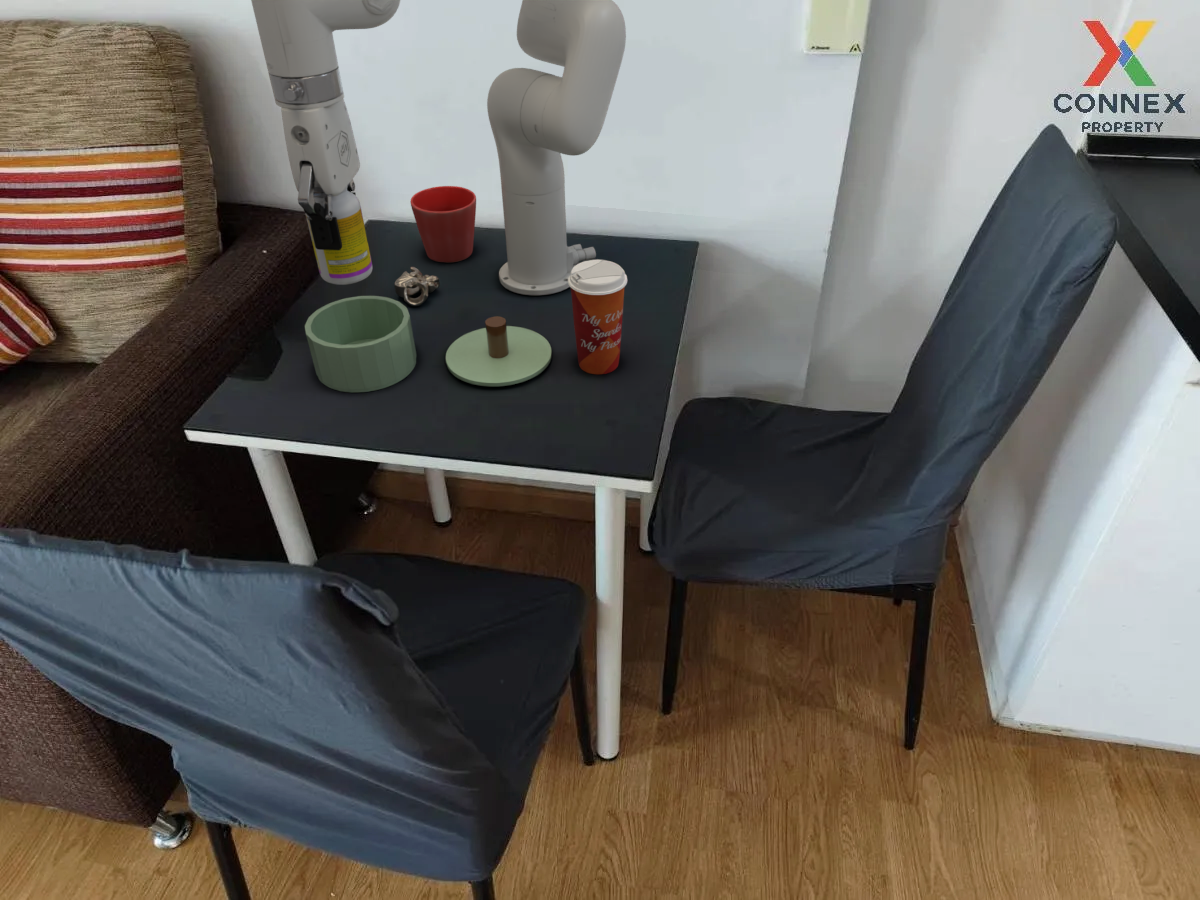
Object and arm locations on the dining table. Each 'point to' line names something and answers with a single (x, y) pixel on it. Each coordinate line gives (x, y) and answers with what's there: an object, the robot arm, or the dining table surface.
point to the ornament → (415, 286)
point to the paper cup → (597, 313)
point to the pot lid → (498, 354)
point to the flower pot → (445, 222)
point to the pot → (361, 343)
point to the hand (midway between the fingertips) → (338, 234)
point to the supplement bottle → (345, 243)
